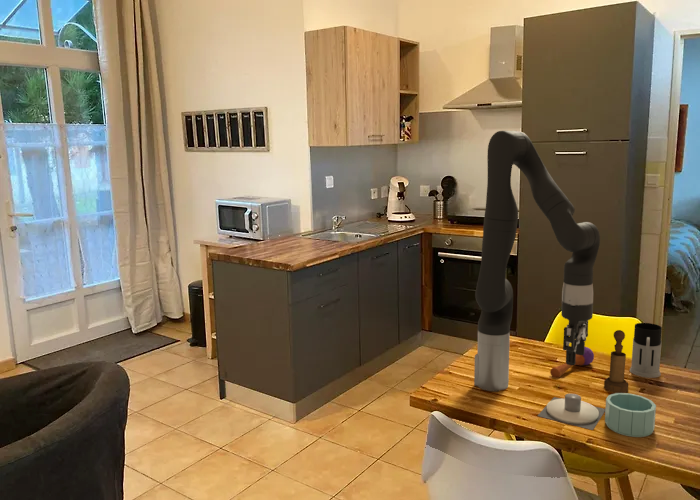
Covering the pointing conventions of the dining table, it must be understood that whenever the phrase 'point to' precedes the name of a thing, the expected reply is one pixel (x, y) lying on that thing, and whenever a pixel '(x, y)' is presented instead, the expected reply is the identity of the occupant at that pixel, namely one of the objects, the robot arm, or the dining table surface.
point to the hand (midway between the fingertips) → (575, 359)
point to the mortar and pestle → (617, 367)
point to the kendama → (580, 360)
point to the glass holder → (646, 350)
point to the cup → (630, 414)
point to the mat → (587, 426)
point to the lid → (572, 410)
